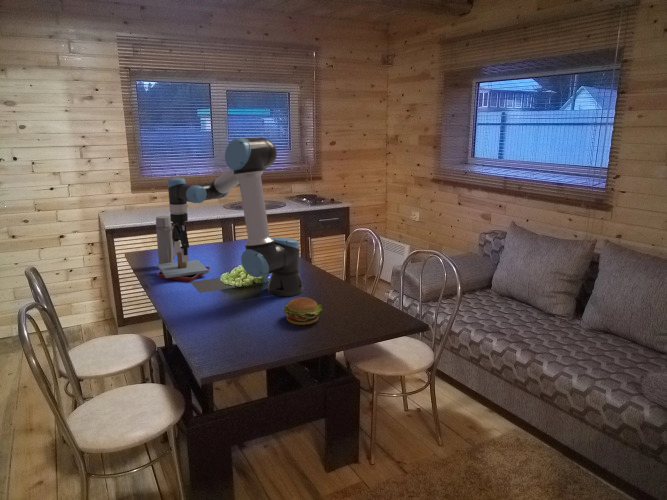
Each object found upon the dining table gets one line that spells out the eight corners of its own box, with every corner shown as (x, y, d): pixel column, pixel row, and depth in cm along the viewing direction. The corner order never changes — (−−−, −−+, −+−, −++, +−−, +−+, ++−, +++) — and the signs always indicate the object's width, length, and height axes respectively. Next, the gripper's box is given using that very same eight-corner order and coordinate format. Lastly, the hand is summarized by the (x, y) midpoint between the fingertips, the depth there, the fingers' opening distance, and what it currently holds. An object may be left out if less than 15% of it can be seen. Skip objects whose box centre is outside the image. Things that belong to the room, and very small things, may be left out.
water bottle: (155, 267, 246) (151, 217, 239) (167, 264, 252) (163, 214, 246) (169, 270, 241) (165, 219, 235) (180, 266, 248) (177, 216, 242)
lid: (208, 272, 231) (207, 255, 229) (165, 278, 222) (164, 260, 220) (197, 262, 247) (196, 245, 245) (157, 266, 238) (156, 250, 236)
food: (288, 329, 178) (288, 308, 175) (280, 314, 191) (280, 294, 189) (325, 325, 181) (326, 304, 179) (316, 311, 194) (316, 291, 192)
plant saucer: (211, 273, 241) (211, 266, 240) (192, 284, 224) (191, 277, 223) (177, 269, 245) (176, 263, 244) (156, 280, 228) (155, 273, 227)
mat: (237, 288, 219) (237, 286, 219) (200, 293, 211) (200, 292, 211) (225, 277, 232) (224, 276, 232) (190, 283, 224) (190, 282, 224)
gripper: (194, 216, 219) (197, 263, 224) (180, 207, 240) (182, 251, 245) (177, 218, 215) (180, 266, 221) (163, 209, 236) (167, 252, 241)
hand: (181, 258), depth 233 cm, fingers open, 13 cm apart
